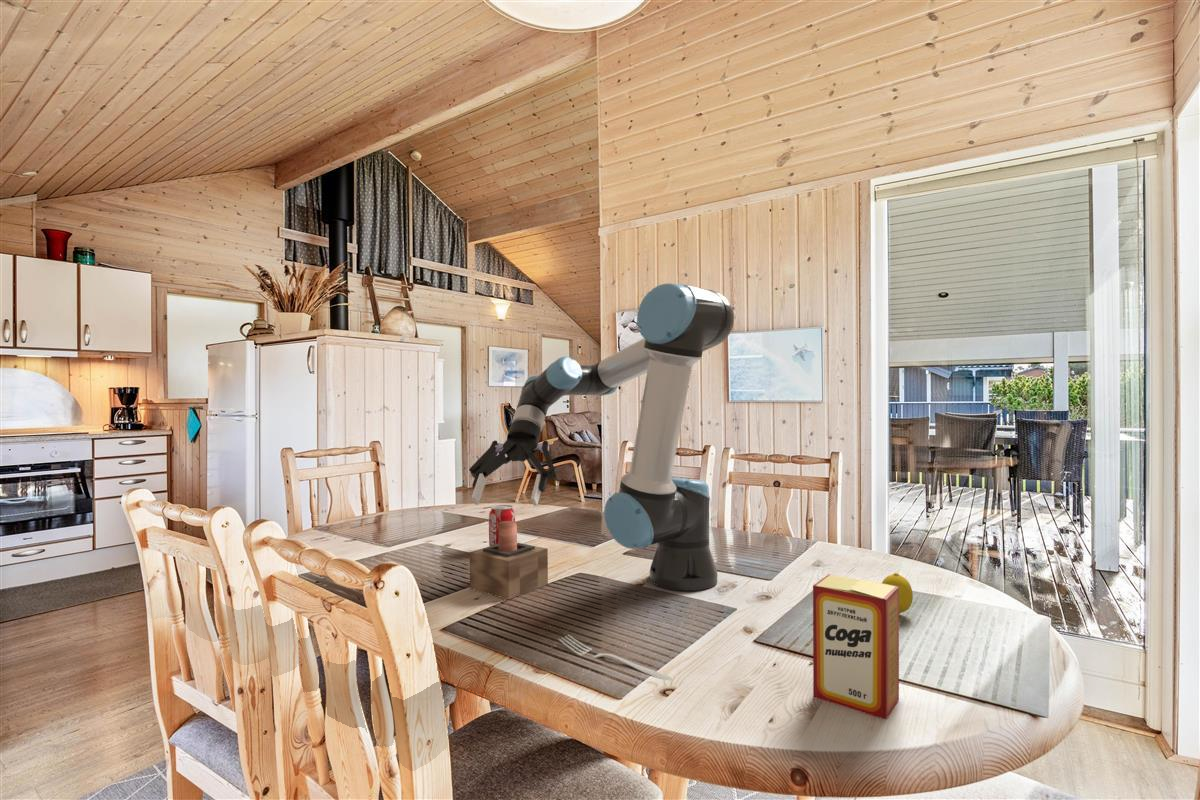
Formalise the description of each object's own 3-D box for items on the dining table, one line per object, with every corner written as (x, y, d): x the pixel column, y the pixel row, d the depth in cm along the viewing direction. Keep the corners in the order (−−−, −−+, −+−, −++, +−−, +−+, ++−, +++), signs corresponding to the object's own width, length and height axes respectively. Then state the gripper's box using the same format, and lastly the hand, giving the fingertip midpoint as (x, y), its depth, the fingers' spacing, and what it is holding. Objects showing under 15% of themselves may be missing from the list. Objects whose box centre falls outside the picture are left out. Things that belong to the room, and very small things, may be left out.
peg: (521, 585, 134) (520, 522, 134) (508, 590, 131) (507, 525, 130) (508, 582, 136) (507, 520, 136) (495, 586, 133) (494, 523, 133)
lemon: (910, 611, 116) (910, 570, 116) (914, 622, 111) (914, 578, 111) (878, 608, 118) (878, 567, 118) (881, 618, 113) (881, 575, 113)
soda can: (513, 554, 159) (512, 509, 159) (486, 554, 160) (486, 509, 159) (517, 547, 166) (517, 504, 166) (491, 547, 167) (491, 504, 166)
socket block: (547, 584, 134) (547, 545, 134) (508, 599, 125) (508, 558, 125) (509, 574, 142) (509, 538, 142) (470, 588, 132) (469, 549, 132)
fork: (684, 692, 87) (684, 680, 87) (556, 650, 101) (556, 639, 101) (695, 683, 89) (695, 671, 89) (569, 643, 104) (569, 633, 104)
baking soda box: (813, 696, 84) (813, 582, 84) (829, 679, 89) (828, 571, 89) (886, 719, 78) (886, 596, 78) (898, 699, 83) (898, 584, 83)
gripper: (579, 438, 145) (563, 512, 131) (482, 439, 151) (456, 510, 136) (573, 417, 140) (555, 492, 126) (473, 418, 146) (445, 490, 131)
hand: (504, 501), depth 131 cm, fingers open, 13 cm apart
